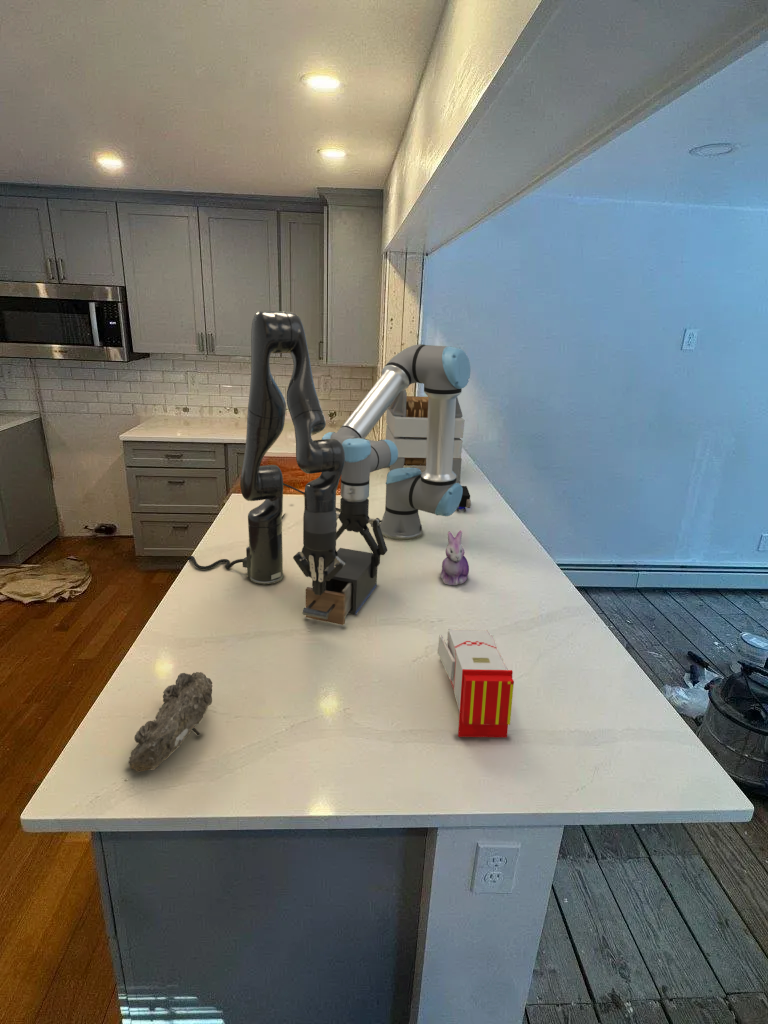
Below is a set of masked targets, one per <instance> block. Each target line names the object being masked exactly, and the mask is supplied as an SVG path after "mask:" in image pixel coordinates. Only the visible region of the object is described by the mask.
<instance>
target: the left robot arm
mask: <svg viewBox="0 0 768 1024" xmlns="http://www.w3.org/2000/svg"><path fill="white" fill-rule="evenodd" d="M250 328H251V329H250V330H251V331H250V338H251V339H250V352H251V353H250V385H249V394H248V404H247V417H246V435H245V447H244V454H243V459H242V466H241V471H240V483H239V485H240V492H241V495H242V497H243V499H245V500H246V501H248V502H258V501H263V502H262V503H261V504H259V505H258V506H256V507H254V508H252V509H251V510H250V511H249V512H248V514H247V527H248V545H247V547H246V548H245V553H246V556H245V557H244V558H237V559H235V560H232V561H230V560H229V559H227V558H221V559H217V560H216V561H214V562H213V563H211V564H209V565H201V564H198V561H197V560H196V558H195V556H193V555H188V557H187V558H186V560H187V561H191V562H192V564H193V566H194V567H195V568H196V569H199V570H202V571H203V570H204V571H205V570H210V569H212V568H214V567H216V566H217V565H219V564H223V563H225V568H226V569H230V568H231V567H233V566H234V565H237V564H240V563H242V568H244V569H246V575H247V576H246V577H247V579H248V580H250V581H251V582H253V583H255V584H259V585H272V584H277V583H278V582H280V581H282V580H283V578H284V568H283V567H284V566H283V565H284V563H283V562H284V560H283V558H284V557H283V555H284V553H283V519H282V516H283V514H284V513H283V511H284V510H283V509H284V485H283V483H284V476H283V472H282V470H281V468H280V467H279V466H278V465H277V464H267V465H261V464H262V461H263V459H264V457H265V455H266V454H267V453H268V451H269V449H271V448H272V447H273V446H274V444H275V443H276V441H278V439H279V438H280V436H281V434H282V433H283V430H284V427H285V421H286V413H287V410H288V412H289V415H290V418H291V421H292V425H293V428H294V438H295V460H296V464H297V467H299V469H300V471H302V472H303V473H305V474H308V475H310V474H312V475H313V474H319V473H320V475H319V476H318V477H316V478H315V479H313V480H311V481H309V482H307V483H306V484H305V486H304V493H305V495H304V497H303V499H304V500H303V501H304V506H303V507H304V510H303V517H302V521H303V523H302V525H303V527H302V534H303V536H302V537H303V538H302V539H303V540H302V544H303V546H302V548H301V551H298V552H296V553H295V555H293V557H292V559H293V561H294V562H295V563H296V565H297V566H298V568H299V569H300V571H301V572H302V573H303V575H304V576H305V578H306V577H307V578H310V579H311V580H312V581H311V583H312V586H311V588H312V590H313V592H314V594H316V595H321V594H323V593H324V591H325V590H326V581H330V580H331V579H332V578H333V577H334V576H335V575H336V574H337V573H338V572H339V571H340V570H341V569H342V568H343V566H344V565H345V564H346V561H345V560H341V559H340V558H339V557H338V553H337V551H338V550H337V540H336V532H337V528H338V519H337V515H336V513H337V510H336V508H337V491H338V486H339V483H340V481H341V473H342V470H343V467H344V463H345V451H344V448H343V446H342V444H341V443H340V442H339V441H338V440H336V439H323V440H322V439H315V440H313V438H312V436H315V435H317V434H319V433H321V432H322V431H323V430H325V428H326V426H327V422H326V417H325V414H324V411H323V409H322V405H321V402H320V400H319V396H318V393H317V390H316V387H315V386H316V385H315V383H314V378H313V371H312V365H311V358H310V353H309V347H308V343H307V337H306V332H305V328H304V325H303V322H302V320H301V318H300V316H299V315H298V314H297V313H296V312H294V311H287V310H285V311H284V310H260V311H257V312H256V313H255V314H254V315H253V317H252V322H251V327H250ZM272 354H290V356H291V360H292V365H293V366H292V367H293V369H292V373H291V376H290V377H291V378H290V380H289V383H288V386H287V390H286V399H285V397H284V394H283V392H282V391H281V389H280V388H279V385H278V384H277V382H276V381H275V379H274V377H273V375H272V372H271V367H270V365H271V364H270V362H271V361H270V359H271V355H272ZM333 561H334V562H335V563H334V567H335V568H334V569H333V570H332V571H331V572H330V573H327V571H328V568H329V565H330V564H331V563H332V562H333Z"/></svg>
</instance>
